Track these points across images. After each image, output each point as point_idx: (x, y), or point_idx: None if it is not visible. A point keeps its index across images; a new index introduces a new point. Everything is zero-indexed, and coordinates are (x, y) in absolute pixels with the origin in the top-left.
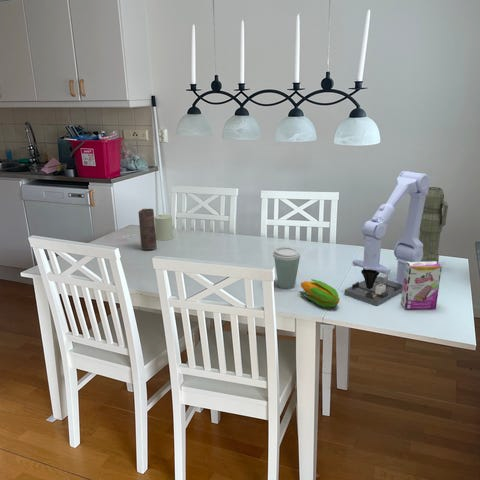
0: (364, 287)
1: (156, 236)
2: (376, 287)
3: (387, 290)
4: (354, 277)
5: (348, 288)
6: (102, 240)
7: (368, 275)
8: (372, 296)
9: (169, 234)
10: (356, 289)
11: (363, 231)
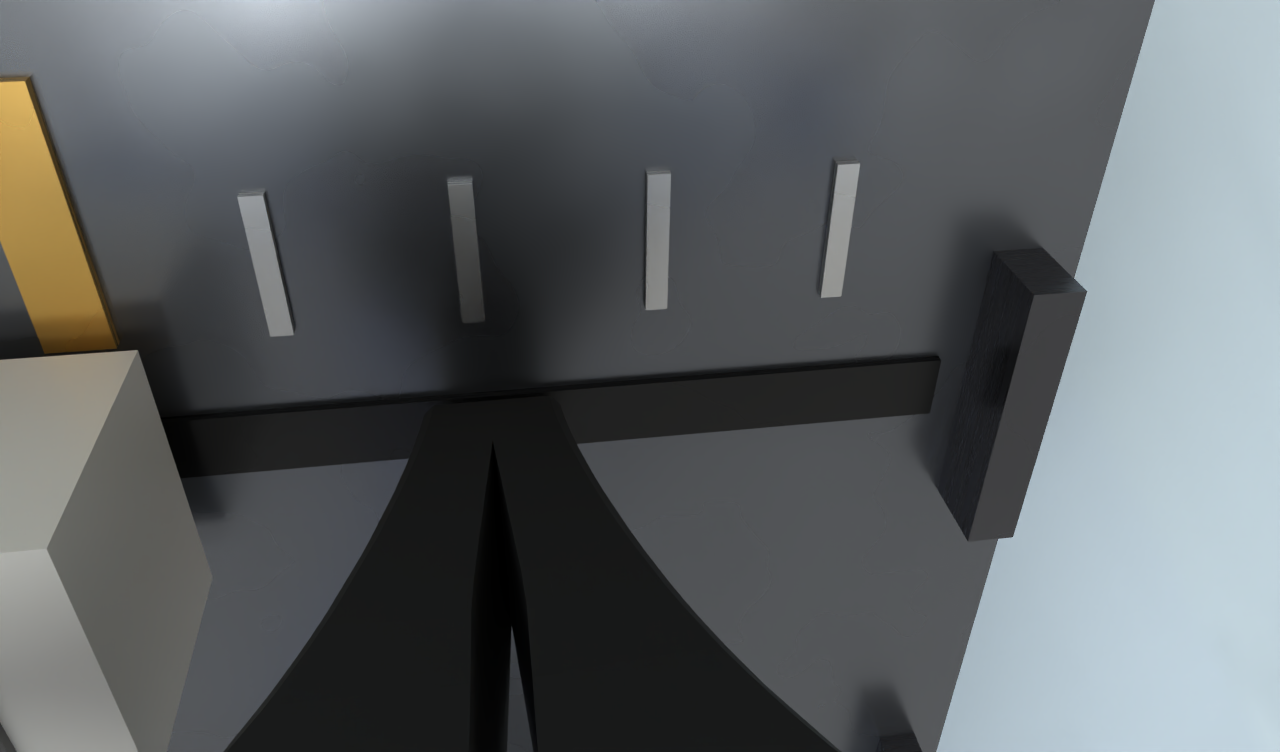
0: (732, 473)
1: None
2: (27, 514)
3: (180, 721)
4: (1192, 725)
5: (1110, 68)
6: None
7: None
8: (19, 95)
9: None
10: (839, 184)
11: None
